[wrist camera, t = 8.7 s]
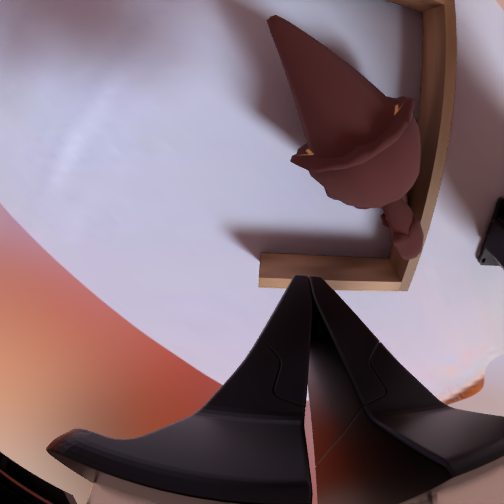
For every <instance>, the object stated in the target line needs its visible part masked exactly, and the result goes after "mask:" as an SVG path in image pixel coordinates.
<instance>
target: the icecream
mask: <svg viewBox="0 0 504 504" xmlns="http://www.w3.org/2000/svg"><path fill="white" fill-rule="evenodd" d="M267 23H268V26H269V29H270V32H271V34H272V37H273V39H274V42H275V45H276V47H277V50H278V53H279V55H280V58H281V61H282V64H283V67H284V70H285V73H286V76H287V79H288V82H289V85H290V88H291V91H292V94H293V97H294V100H295V104H296V107H297V110H298V113H299V117H300V120H301V124H302V127H303V130H304V134H305V137H306V141H307V143H306V144H305V145H303V146H301V147H300V148H299V149H298V151H297V154H295V155H293V156H292V158H291V161H290V162H292V163H294V164H296V165H298V166H300V167H302V168H305V169H307V170H308V171H309V172H310V175H311V176H312V177H313V178H314V179H315V180H317V181H318V182H319V183H320V184H321V185H322V186H324V188H325V191H326V193H327V196H328V197H330V198H332V199H334V200H339V201H341V202H343V203H345V204H347V205H351V206H354V207H356V208H358V209H369V208H380V207H383V209H384V214H382V215H381V219H382V224H383V225H384V226H385V227H387V228H388V229H389V230H390V233H391V239H392V242H393V244H394V245H395V246H396V247H397V250H398V252H399V254H400V255H401V256H402V258H403V259H405V260H410V259H413V258H416V257H417V256H418V255H419V254H420V253H421V252H422V246H423V239H424V234H423V231H422V227H421V224H420V221H419V219H418V217H416V216H414V214H413V212H412V210H411V208H410V207H409V202H408V195H407V192H408V191H409V190H410V189H411V187H412V186H413V185H414V183H415V181H416V179H417V177H418V175H419V170H420V159H421V146H420V133H419V126H418V124H417V122H416V120H415V119H414V118H413V110H414V104H415V99H412V98H407V97H404V96H403V97H399V98H390V97H386V96H385V95H384V94H383V93H382V92H381V91H380V90H379V89H377V88H376V87H375V86H374V85H373V84H372V83H371V82H369V81H368V80H367V79H366V78H365V77H364V76H362V75H361V74H360V73H359V72H358V71H356V70H355V69H354V68H353V67H352V66H350V65H349V64H348V63H347V62H345V61H344V60H343V59H341V58H340V57H339V56H337V55H336V54H335V53H333V52H332V51H331V50H329V49H328V48H327V47H325V46H324V45H322V44H321V43H320V42H318V41H317V40H315V39H314V38H312V37H311V36H310V35H308V34H307V33H305V32H304V31H302V30H301V29H299V28H298V27H296V26H294V25H293V24H291V23H290V22H288V21H286V20H285V19H283V18H281V17H279V16H277V15H275V16H272V17H270V18H269V19H268V20H267Z"/></svg>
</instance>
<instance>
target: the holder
mask: <svg viewBox="0 0 504 504" xmlns="http://www.w3.org/2000/svg"><path fill="white" fill-rule="evenodd" d="M386 1H389V2H393V3H396V4H399V5H402V6H406V7H409V8H412V9H415V10H417V11H420V12H422V25H423V51H422V76H421V91H420V102H419V112H418V121H417V124H418V126H419V133H420V146H421V159H420V170H419V175H418V177H417V179H416V181H415V183H414V185H413V186H412V187H411V189H410V190H409V191H408V192H407V195H408V202H409V207H410V208H411V210H412V212H413V214H414V216H416V217H418V219H419V221H420V224H421V227H422V231H423V234H424V239H423V246H424V243H425V240H426V237H427V233H428V230H429V227H430V223H431V220H432V216H433V212H434V209H435V205H436V201H437V197H438V193H439V189H440V184H441V180H442V175H443V170H444V165H445V160H446V155H447V149H448V143H449V137H450V130H451V123H452V115H453V106H454V95H455V82H456V57H457V37H456V14H455V1H454V0H386ZM423 246H422V249H423ZM420 255H421V253H420V254H419V255H418V256H417V257H416V258H413V259H410V260H405V259H403V258H402V256H401V255H400V254H399V252H398V250H397V247H396V246H395V245H394V244H393V245H392V249H391V253H390V256H389V259H386V258H364V257H342V256H320V255H299V254H277V253H260V268H259V287H264V288H287V287H288V285H289V284H290V282H291V280H292V278H293V276H294V275H306V276H307V277H308V276H321V277H322V278H323V279H324V280H325V281H326V282H327V283H328V285H329V286H330V287H331V288H332V289H333V290H357V291H408V289H409V286H410V283H411V281H412V278H413V275H414V273H415V270H416V267H417V264H418V261H419V258H420Z"/></svg>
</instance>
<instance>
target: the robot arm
mask: <svg viewBox="0 0 504 504" xmlns="http://www.w3.org/2000/svg"><path fill="white" fill-rule="evenodd" d="M478 262H479V263H480V264H481V265H494V266H501V267H502V268H503V269H504V197H500V198H499V199H498V202H497V205H496V209H495V212H494V215H493V218H492V221H491V224H490V227H489V230H488V233H487V236H486V239H485V241H484V244H483V247H482V249H481V252H480V255H479V257H478ZM307 385H308V391H309V401H310V410H311V421H312V432H313V443H314V455H315V466H316V468H315V469H316V483H317V500H318V504H504V417H502V416H495V415H488V414H482V413H476V412H470V411H464V410H460V409H455V408H452V407H449V406H448V405H446V404H444V403H443V402H441V401H440V400H439V399H437V398H436V397H435V396H434V395H433V394H432V393H431V392H430V391H429V390H428V389H427V388H426V387H424V386H423V385H422V384H421V383H420V382H419V381H418V380H417V379H416V378H415V377H414V376H413V375H412V374H411V373H410V372H409V371H408V370H407V369H405V368H404V367H403V366H402V365H401V364H400V363H399V362H398V361H397V360H396V358H395V357H394V356H393V355H392V354H391V353H390V352H389V351H388V350H387V349H386V348H385V346H384V345H383V344H382V343H381V342H380V343H379V340H378V339H377V337H376V336H375V335H374V334H373V333H372V332H371V331H370V330H369V328H368V327H367V326H366V325H365V324H364V323H363V322H362V321H361V320H360V318H359V317H358V316H357V315H356V314H355V313H354V312H353V311H352V310H351V309H350V307H349V306H348V305H347V304H346V303H345V302H344V301H343V300H342V299H341V298H340V296H339V295H338V294H337V293H336V292H335V291H334V290H333V289H332V288H331V287H330V286H329V285H328V283H327V282H326V281H325V280H324V279H323V278H322V277H321V276H308V277H307V276H306V275H294V276H293V278H292V280H291V282H290V284H289V285H288V287H287V289H286V291H285V293H284V294H283V296H282V298H281V300H280V301H279V303H278V305H277V307H276V308H275V310H274V312H273V314H272V315H271V317H270V319H269V321H268V322H267V324H266V326H265V328H264V329H263V331H262V333H261V334H260V336H259V339H257V341H256V343H255V344H254V346H253V348H252V349H251V351H250V352H249V354H248V355H247V357H246V358H245V360H244V361H243V362H242V363H241V365H240V366H239V367H238V368H237V370H236V371H235V372H234V373H233V374H232V376H231V377H230V378H229V379H228V380H227V381H226V382H225V384H224V385H223V386H222V387H221V388H220V389H219V390H218V391H217V392H216V394H215V395H214V396H213V397H212V398H211V399H210V400H209V401H208V402H207V403H206V404H205V405H204V406H203V407H202V408H201V409H200V410H198V411H197V412H196V413H194V414H193V415H191V416H189V417H187V418H185V419H182V420H180V421H178V422H175V423H173V424H171V425H168V426H166V427H164V428H162V429H159V430H156V431H154V432H151V433H149V434H146V435H144V436H141V437H138V438H134V439H113V438H108V437H106V436H103V435H100V434H97V433H94V432H91V431H88V430H83V429H73V430H71V431H69V432H67V433H65V434H63V435H61V436H59V437H57V438H56V439H55V440H53V441H52V442H51V443H50V444H49V446H48V447H47V448H46V450H47V452H48V453H49V454H50V455H51V456H53V457H54V458H55V459H57V460H58V461H60V462H61V463H62V464H64V465H65V466H67V467H68V468H70V469H71V470H73V471H74V472H76V473H77V474H79V475H81V476H82V477H84V478H85V479H87V480H89V481H90V482H92V483H93V484H92V487H91V491H90V494H89V497H88V501H87V504H312V483H311V475H310V467H309V459H308V452H307V444H306V437H305V429H304V416H305V407H306V396H307ZM0 504H77V503H76V501H75V499H74V497H73V495H71V494H69V493H67V492H65V491H63V490H61V489H59V488H57V487H55V486H53V485H52V484H50V483H48V482H46V481H44V480H43V479H41V478H39V477H37V476H36V475H34V474H32V473H31V472H29V471H28V470H26V469H24V468H23V467H21V466H20V465H18V464H17V463H15V462H14V461H12V460H11V459H9V458H8V457H6V456H5V455H4V454H2V453H1V452H0Z"/></svg>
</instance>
